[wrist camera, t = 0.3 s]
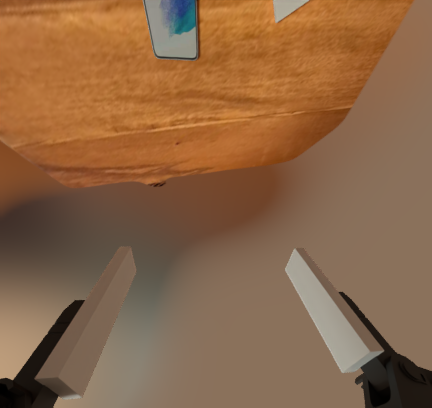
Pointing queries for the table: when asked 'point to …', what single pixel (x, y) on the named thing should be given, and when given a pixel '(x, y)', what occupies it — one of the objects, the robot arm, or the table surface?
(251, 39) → the table surface
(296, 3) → the mat
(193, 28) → the smartphone
